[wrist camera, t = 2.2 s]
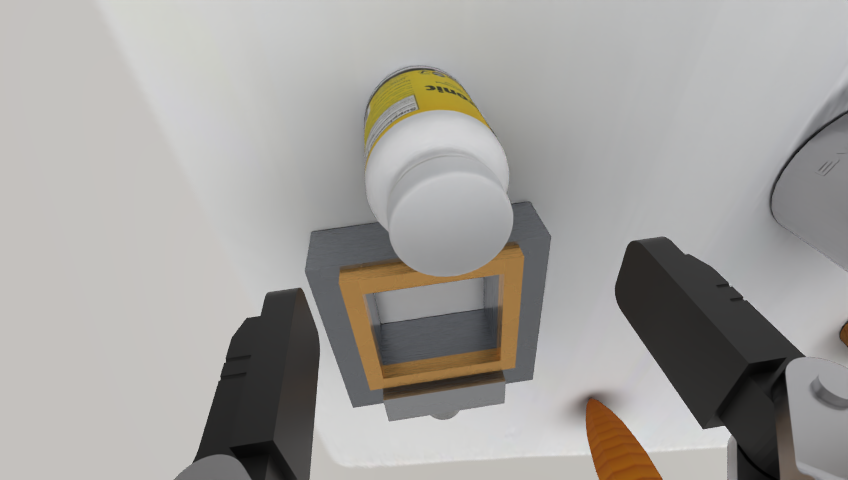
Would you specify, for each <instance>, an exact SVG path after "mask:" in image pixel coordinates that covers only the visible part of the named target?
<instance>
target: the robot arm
mask: <svg viewBox="0 0 848 480" xmlns="http://www.w3.org/2000/svg"><path fill="white" fill-rule="evenodd" d="M772 212H773V215H774V218H775V219H776V220H777V221H778V223H779V224H780V225H782V226H783V227H785V228H786V229H788V230H789V231H790V232H792V233H793V234H795V235H796V236H798V237H799V238H800V239H802V240H803V241H805V242H806V243H808V244H809V245H810V246H812V247H813V248H815V249H816V250H817V251H819V252H820V253H822V254H823V255H825V256H826V257H827V258H829V259H830V260H831V261H833V262H834V263H836V264H837V265H838V266H840V267H841V268H843V269H844V270H846V271H847V272H848V114H846V115H844V116H842V117H841V118H839V119H838V120H836V121H835V122H833V123H832V124H830V125H829V126H827V127H826V128H824V129H823V130H822V131H821V132H819V133H818V134H817V135H816V136H815V137H813V138H812V139H811V140H810V141H809V142H808V143H807V144H806V145H805V146H804V147H803V148H802V149H801V150H800V151H799V152H798V153H797V154H796V155H795V156H794V158H793V159H792V160H791V162H790V163H789V164H788V166H787V167H786V168H785V170H784V171H783V173H782V175H781V177H780V179H779V180H778V182H777V184H776V187H775V190H774V193H773V196H772ZM615 296H616V300H617V303H618V306H619V308H620V309H621V311H622V312H623V314H624V315H625V317H626V318H627V320H628V321H629V323H630V324H631V326H632V327H633V328H634V330H635V331H636V333H637V334H638V336H639V337H640V339H641V340H642V342H643V343H644V344H645V346H646V347H647V349H648V350H649V352H650V353H651V355H652V356H653V357H654V359H655V360H656V362H657V363H658V365H659V366H660V368H661V369H662V371H663V372H664V373H665V375H666V376H667V378H668V379H669V381H670V382H671V384H672V385H673V386H674V388H675V389H676V391H677V392H678V394H679V395H680V397H681V398H682V400H683V401H684V402H685V404H686V405H687V407H688V408H689V410H690V411H691V413H692V414H693V415H694V417H695V418H696V420H697V421H698V423H699V424H700V426H701V427H702V429H708V428H713V427H719V426H726V428H727V429H728V430H729V432H730V433H731V434H732V435H731V437H730V438H729V440H728V446H727V451H728V452H727V480H848V368H846V367H844V366H842V365H840V364H837V363H835V362H832V361H829V360H825V359H821V358H815V357H806V356H805V355H803V354H802V353H801V352H800V351H799V350H798V349H797V348H796V347H795V346H794V345H793V344H792V343H791V342H790V341H789V340H787V339H786V338H785V337H784V336H783V335H782V334H781V333H780V332H779V331H778V330H777V329H776V328H775V327H774V326H773V325H772V324H771V323H770V322H769V321H768V320H767V319H766V318H765V317H764V316H762V315H761V314H760V313H759V312H758V311H757V310H756V309H755V308H754V307H753V306H752V305H751V304H750V303H749V302H748V301H747V300H746V301H744V300H743V296H742V295H741V294H740V293H738V292H737V291H736V290H735V289H734V288H733V287H730V286H729V283H728V282H727V281H726V280H725V279H724V278H723V277H722V276H721V275H720V274H719V273H718V272H717V271H716V270H715V269H713V268H712V267H711V266H709V265H707V264H706V263H704V262H702V261H700V260H699V259H697V258H695V257H693V256H692V255H690V254H687V255H685V254H684V253H683V252H682V251H681V250H680V249H679V248H678V247H677V246H676V245H675V244H674V243H673V242H672V241H671V240H669V239H668V238H666V237H657V238H650V239H643V240H636V241H632V242H630V243H629V244H628V246H627V248H626V252H625V255H624V258H623V262H622V265H621V268H620V271H619V275H618V278H617V281H616V285H615ZM319 357H320V344H319V336H318V331H317V328H316V325H315V322H314V319H313V317H312V314H311V311H310V308H309V305H308V303H307V300H306V297H305V294H304V292H303V290H302V289H301V288H295V289H288V290H281V291H274V292H268V293H267V294H266V296H265V300H264V304H263V308H262V312H261V316H258V317H251V318H246V320H245V321H244V322H243V324H242V325H241V326H240V328H239V329H238V330H237V332H236V333H235V334H234V336H233V337H232V339H231V342H230V346H229V349H228V352H227V356H226V363H224V366H223V369H222V373H221V376H220V377H221V380H220V381H219V382H218V386H217V389H216V392H215V396H214V399H213V403H212V406H211V409H210V412H209V416H208V419H207V423H206V426H205V429H204V433H203V436H202V440H201V443H200V446H199V449H198V452H197V455H196V457H195V459H194V461H193V463H192V464H191V465H190V466H188V467H187V468H186V469H185V470H183V471H182V472H181V473H180V474H179V475H178V476H177V477H176V478H175V479H174V480H309V478H310V466H311V454H312V441H313V430H314V418H315V406H316V393H317V381H318V369H319Z"/></svg>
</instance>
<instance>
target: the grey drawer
mask: <svg viewBox="0 0 848 480" xmlns="http://www.w3.org/2000/svg"><path fill="white" fill-rule="evenodd" d="M511 206H512V210H513V226H512V231H511V234H510V237H509V239H508V241H507V243H506V244H505V246H504V247H503V249H502V250H501V251H500V252H499V253H498V255H497V256H496V257H495V258H493V259H492V260H491V261H490V262H488V263H487V264H486V265H484V266H482V267H480V268H478V269H476V270H474V271H472V272H469V273H466V274H462V275H458V276H449V277H440V276H432V275H427V274H423V273H421V272H418V271H416V270H414V269H412V268H411V267H409V266H407V265H406V264H405V263H404V262H403V261H402V260H401V259H400V258H399V257H398V256H397V254H396V253H395V251H394V249H393V247H392V245H391V242H390V238H389V232H388V231H387V230H386V229H385V228H384V227H383V226H382V225H381V224H380V223H372V224H365V225H358V226H351V227H344V228H336V229H329V230H322V231H315V232H312V233H311V238H310V244H309V250H308V256H307V262H306V267H305V273H306V276H307V279H308V282H309V285H310V288H311V290H312V293H313V296H314V299H315V302H316V305H317V307H318V310H319V313H320V316H321V319H322V321H323V324H324V327H325V330H326V333H327V336H328V338H329V341H330V344H331V347H332V350H333V352H334V355H335V358H336V361H337V364H338V367H339V369H340V372H341V375H342V378H343V381H344V384H345V386H346V389H347V392H348V395H349V398H350V400H351V403H352V406H353V408H355V407H361V406H367V405H374V404H380V403H384V405H385V408H386V412H387V416H388V420H389V421H395V420H402V419H408V418H414V417H420V416H427V415H431V416H432V417H434V418H436V419H441V420H445V419H449V418H452V417H454V416H455V415H456V414H457V413H458V412H459V410H464V409H471V408H477V407H483V406H489V405H496V404H502V403H504V400H505V384H507V383H513V382H520V381H526V380H532V379H533V372H534V364H535V357H536V349H537V341H538V334H539V326H540V318H541V310H542V303H543V295H544V287H545V279H546V272H547V264H548V256H549V249H550V241H551V235H550V234H549V232H548V231H547V229H546V227H545V226H544V224H543V222H542V221H541V219H540V218H539V216H538V214H537V213H536V211H535V209H534V208H533V206H532V205H531V203H530V202H524V203H517V204H511ZM479 277H484V309H482V310H475V311H468V312H462V313H455V314H448V315H441V316H435V317H428V318H421V319H415V320H408V321H401V322H395V323H388V324H381V323H380V318H379V314H378V309H377V305H376V300H375V296H374V293H376V292H383V291H390V290H397V289H404V288H411V287H417V286H424V285H431V284H438V283H445V282H452V281H459V280H465V279H472V278H479Z"/></svg>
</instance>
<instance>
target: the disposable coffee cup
mask: <svg viewBox="0 0 848 480" xmlns="http://www.w3.org/2000/svg"><path fill="white" fill-rule="evenodd" d="M840 339H841V340H842V341H843V342H844V343H845V344H846V345H847V347H848V323H847V324H846V325H845V326H844V328H843V329H842V331H841V333H840Z"/></svg>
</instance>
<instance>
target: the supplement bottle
mask: <svg viewBox="0 0 848 480" xmlns="http://www.w3.org/2000/svg"><path fill="white" fill-rule="evenodd" d="M364 140H365V187H366V195H367V200H368V203H369V206H370V208H371V210H372V212H373V214H374V216H375V217H376V219H377V220H378V222H379V223H380V224H381V225H382V226H383V227H384V228H385V229H386V230H387V231H388V232H389V238H390V242H391V245H392V247H393V249H394V251H395V253H396V254H397V256H398V257H399V258H400V259H401V260H402V261H403V262H404V263H405V264H406V265H407V266H409V267H411V268H412V269H414V270H416V271H418V272H421V273H423V274H427V275H432V276H440V277H449V276H458V275H462V274H466V273H469V272H472V271H474V270H476V269H478V268H480V267H482V266H484V265H486V264H487V263H488V262H490V261H491V260H492V259H493V258H495V257H496V256H497V255H498V253H499V252H500V251H501V250H502V249H503V247H504V246H505V244H506V243H507V241H508V239H509V237H510V234H511V231H512V226H513V210H512V206H511V203H510V200H509V198H508V196H507V190H508V185H509V167H508V162H507V158H506V155H505V152H504V150H503V148H502V145H501V144H500V142H499V141H498V139H497V137H496V135H495V134H494V132H493V131H492V129H491V128H490V127H489V125H488V124H487V123H486V121H485V120H484V118H483V116H482V115H481V113H480V112H479V110H478V109H477V107H476V106H475V104H474V103H473V102H472V100H471V99H470V97H469V95H468V94H467V93H466V91H465V90H464V88H463V87H462V86H461V85H460V84H459V83H458V82H457V81H456V80H455V79H454V78H453V77H452V76H450V75H449V74H447V73H445V72H443V71H441V70H439V69H436V68H432V67H426V66H415V67H409V68H405V69H402V70H399V71H397V72H395V73H393V74H391V75H390V76H388V77H387V78H386V79H385V80H383V81H382V82H381V83H380V84H379V86H378V87H377V88H376V89H375V91H374V92H373V94H372V95H371V97H370V99H369V102H368V105H367V108H366V113H365V121H364Z"/></svg>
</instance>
